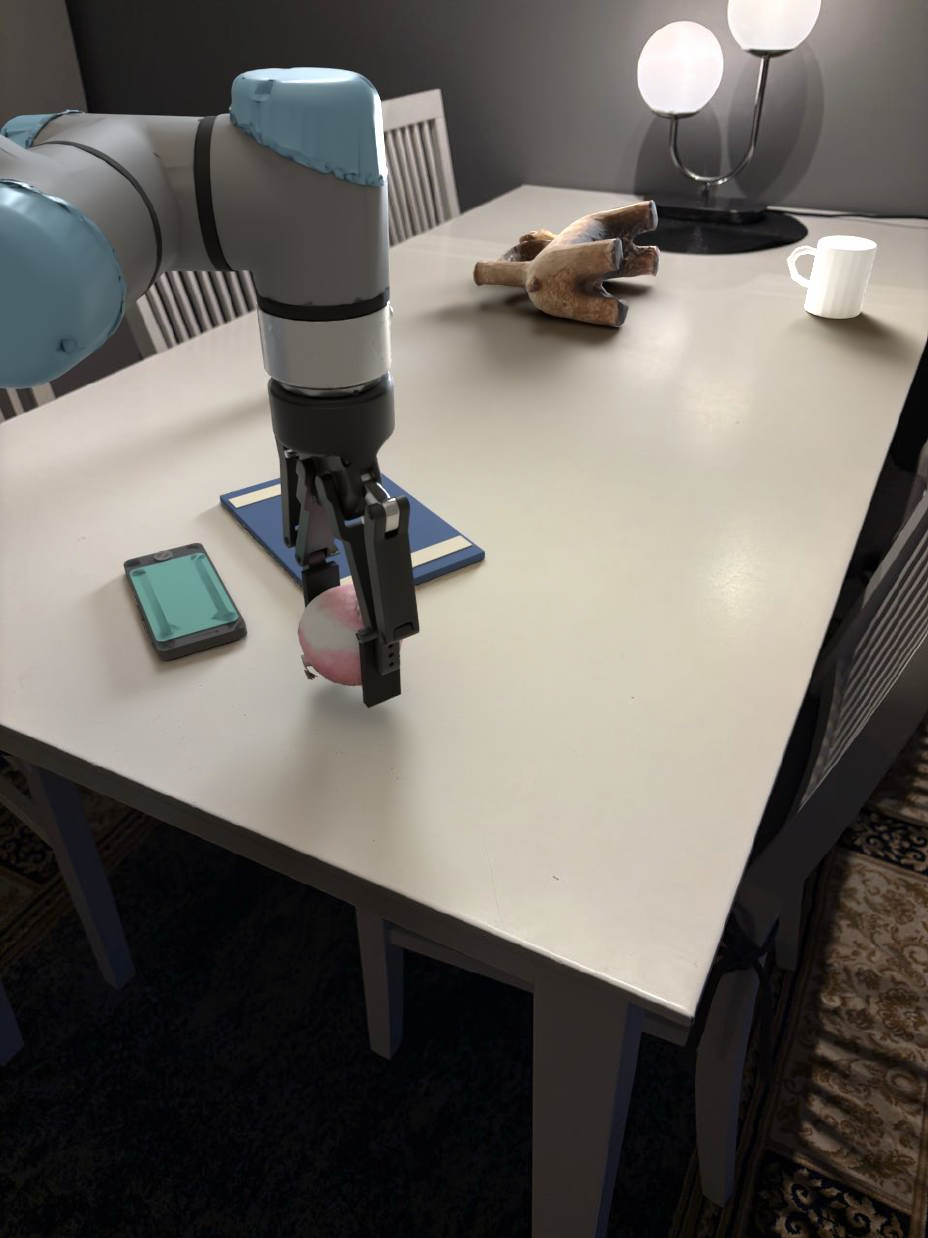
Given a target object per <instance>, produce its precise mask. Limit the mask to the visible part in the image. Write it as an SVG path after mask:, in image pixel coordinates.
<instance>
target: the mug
mask: <svg viewBox="0 0 928 1238" xmlns="http://www.w3.org/2000/svg"><path fill="white" fill-rule="evenodd" d="M877 251H878V244H877V243H875V242H874V241H873V240H870V239H867V238H863V237H859V236H853V235H852V236H850V235H830V236H825V237H823V238H821V239H819V240H818V243H817V248H813V247H811V246H808V245H805V246H801V247H797V248H795V250H793V252H792V253H791V254H790V256H788V258H787V259H786V263H787V266H788V270H789V273H790V274H789V275H790V277H791V279H792V280H793V281H794V282H796V283H797V284H799V285H800V286H801V287H805V288H808V289H807V294H806V298H805V302H804V309H805V311H807V312H808V313H810V314H812V315H814V316H816V317H817V316H818V317H820V318H826V319H835V320H844V319H853V318H856V317H858V316H859V315H860V314H861V313H862V308H863V305H864V301H865V297H866V293H867V289H868V286H869V282H870V277H871V274H872V270H873V266H874V262H875V259H876V258H875V257H876V254H877ZM807 254H808V255H809V254H810V255H812V256H815V257H814V261H813V267H812V270H811V274H810V280H809V279H806V278H805V277H803V276H801V275H800V274H798V270H797V267H796V263H795V262H796V261H797V259H798V258H799V257H800V256H802V255H807Z"/></svg>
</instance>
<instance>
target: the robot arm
mask: <svg viewBox="0 0 928 1238" xmlns="http://www.w3.org/2000/svg"><path fill="white" fill-rule="evenodd" d="M228 112H229V113H221V114H218V115H205V116H183V115H181V116H179V115H151V114H150V115H147V114H146V115H145V114H117V113H116V114H114V113H111V114H109V113H86V112H85V111H84V110H81V109H74V110H73V109H66V110H63V111H61V112H59V113H47V114H46V113H45V114H25V115H19V116H16V117H14V118H12V119H10V120H8V121H7V122H5V124H4V125H3V126H2V128H1V129H0V389H7V390H9V389H12V390H16V389H17V390H21V389H28V388H35V387H38V386H43V385H46V384H48V383H50V382H52V381H54V380H57V379H59V378H60V377H61V376H63V375H65V374H67V372H69V371H70V370H72V369H73V368H75V367H76V366H77V365H78V364H79V363H81V362H82V361H83V360H85V359H86V358H88V357H89V356H90V355H93V353H95V352H97V351H99V350H100V349H101V348H102V346H103V345H104V344H105V342H107V340H108V339H109V337H112V336H113V335H114V334H115V333H116V331H117V330H118V328H119V327H120V324H121V322H122V319H123V318H124V317H125V315H126V314H127V313H128V312H129V310H130V309H131V308H132V307H133V306H134V305H135V303H136V302H137V301H138V300H139V299H141V298H142V297H144V295H146V293H147V292H148V291H149V290H150V289H151V288H152V287H153V286H154V284H156V282H157V281H159V279H160V278H161V277H162V276H163V274H164V273H168V272H222V273H223V272H224V273H225V272H226V273H227V272H228V273H229V272H231V273H234V272H235V273H236V272H237V271H247V272H251V273H252V278H253V282H254V285H255V294H256V304H255V305H256V313H257V314H256V315H257V323H258V330H259V339H260V345H261V355H262V362H263V369H264V370H265V371H264V372H266V373H267V375H268V376H269V377H270V378H269V379H268V381H267V384H266V385H267V395H268V402H269V403H268V404H269V411H270V419H271V426H272V432H273V435H274V440H275V445H276V450H277V454H278V459H279V460H278V461H279V478H280V484H281V505H282V527H283V541H284V544H285V545H286V547H287V548H288V549H290V548H293V547H294V548H295V560H296V562H297V564H298V565H299V566H300V567H302V568H303V571H301V575H302V584H303V588H302V592H303V600H304V601H303V602H304V608H305V609H306V607H307V606H308V604H309V603H310V602H311V601H312V600H313V599H314V598H315V597H317V596H319V595H320V594H321V593H323V592H325V591H327V590H329V589H331V588H334V587H338V586H341V585H340V574H339V564H338V563H337V562H335V561H334V560H333V561H330V562H327V563H326V559H327V558H330V557H333V556H336V555H339V554H340V553H341V552H337V551H338V550H339V549H338V548H337V546H336V544H334V541H335V538H336V539H338V540H341V541H342V543H343V547H344V550H345V554H346V558H347V562H348V566H349V570H350V573H351V577H352V581H353V585H354V589H355V593H356V596H357V600H358V604H359V608H360V612H361V616H362V619H363V623H364V627H365V628H362V629H359V630H358V633H356V637H357V639H358V641H359V652H360V665H361V679H362V685H361V691H362V692H361V693H362V702H363V704H364V705H365V706H366V707H367V708H368V709H371V708H373V707H375V706H377V705H380V704H382V703H385V702H386V701H389V700H391V699H393V698H396V697H399V696H400V695H402V683H401V682H402V679H401V649H400V640H402V641H403V640H404V639H408V638H410V637H412V636H414V635H417V634H420V631H421V630H420V629H421V628H420V627H421V626H420V619H419V612H418V603H417V595H416V594H417V593H416V585H414V576H413V568H412V559H411V551H410V542H409V534H408V527H409V517H410V503H409V501H408V499H407V497H406V496H405V495H404V494H401V495H398V496H395V497H390V496H389V494H388V493H387V492H386V491H385V490H384V489H383V488H382V484H383V481H382V475H381V473H382V472H381V468H380V464H379V459H378V453H379V452H380V450H381V448H382V446H383V445H384V444H385V443H386V442H387V441H388V440H389V439H390V437H392V435H393V433H394V431H395V428H396V409H395V407H396V406H395V381H394V377H393V375H392V374H391V373H390V372H389V370H390V369H391V367H392V364H393V351H392V327H391V326H392V325H391V320H392V318H393V316H394V309H393V307H392V306H391V305H390V304H391V303H390V300H391V287H390V284H391V281H390V276H391V275H390V243H389V242H390V237H389V235H390V234H389V233H390V231H389V229H390V228H389V188H388V186H389V183H388V177H389V176H388V175H389V174H388V171H389V170H388V168H387V165H386V153H385V151H386V150H385V139H384V128H383V114H382V104H381V99H380V96H379V93H378V90H377V89H376V87H375V85H373V83H372V82H371V81H370V80H369V79H368V78H367V77H365V76H364V75H362V74H361V73H358V72H355V71H351V70H345V69H341V68H340V69H339V68H328V67H310V66H309V67H291V68H279V67H278V68H277V67H276V68H275V67H274V68H273V67H272V68H261V69H260V68H259V69H253V70H249V71H245V72H243V73H240V74H239V75H237V76H236V77H235V79H234V80H233V82H232V86H231V104H230V106H229V108H228ZM360 517H361V521H359V522H356V523H353V524H350V525H347V526H346V525H345V522H344V521H351V520H354V519H357V518H360ZM298 525H299V526H298ZM295 526H298V529H296V530H295ZM305 609H304V610H305Z"/></svg>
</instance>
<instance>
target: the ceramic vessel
mask: <svg viewBox="0 0 928 1238" xmlns="http://www.w3.org/2000/svg"><path fill="white" fill-rule="evenodd" d="M657 212H658V211H657V206H656V203H655V201H654V200H652V199H651V200H647V201H642V202H638V203H635V204H634V203H633V204H629V205H625V206H622V207H618V208H617V207H616V208H613V209H612V208H611V209H608V210H603V211H599V212H594V213H590V214H587V215H585V216H582V217H580V218H579V219H578V218H577V220H575V221H574V222H572V223H571V224H570V225H568V226H567V227H565V228H564V229H563V230H562V231H561V232H560V233H559V234H555V233H552V232H551V231H549V230H548V229H545V228H543V229H538V230H537V231H535V230H533V231H529V232H528V233H526V234H524V235H521V236H520V237H519V240H518V244H515V245H514V246H511V247H510V248H508V249H507V250H505V251H504V252H503V253H502V254H501V256H500V257H499V258H498V259H497V260H478V261H476V263H475V264H474V266H473V269H472V279H473V282H474V284H476V287H481V286H499V287H500V286H501V287H507V288H523V289H525V290H526V291H527V294H528V298H529V300H530V301H531V303H532V304H533V305H534V307H535V308H536V309H538V310H540V311H542V312H543V313H545V314H547V315H549V316H551V317H552V316H553V317H556V318H565V319H570V320H576V321H579V322H583V323H586V324H593V325H600V326H612V327H618V328H619V327H622V326H623V324H625V322H626V319H627V317H628V312H629V308H630V307H629V304H628V301H626V300H625V299H624V298H623V299H621V298H618V297H616V296H614V295H613V294H611V293H609V292H607V290H606V289H605V288H604V286H602V285H603V282H604V281H608V280H612V279H613V280H614V279H621V278H635V277H641V276H651V277H656V276H657V274H658V272H659V268H660V261H661V251H660V249H659V247H658V246H657V245H654V246H653V245H647V246H646V245H645V246H641V245H640V246H639V245H636V244H635V243H634V242H633V241H634V238H637V236H639V235H641V234H644V233H648V232H651V231H656V229H657V226H658V221H659V217H658V213H657Z"/></svg>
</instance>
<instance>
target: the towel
mask: <svg viewBox="0 0 928 1238" xmlns="http://www.w3.org/2000/svg"><path fill="white" fill-rule="evenodd" d="M381 475H382V481H383V484H382V488H383V489H384V490H385V491H386V492H387V493H388V494H389V496H390V497H395V496H398V495H401V494H404V495H405V496H406V497H407V499H408V501H409V503H410V517H409V527H408V534H409V542H410V551H411V559H412V568H413V576H414V585H415V586H418V585H420V584H422V583H426V582H428V581H430V580H433V579H435V578H438V577H440V576H443V575H445V574H448V573H451V572H453V571H456V570H459V569H461V568H464V567H467V566H469V565H472V564H474V563H477V562H480V561H482V560H485V559H486V551H485V550H484V549H482V548H481V547H480V546H479V545H477V544H475V542H474V541H472V540H471V539H469V538H468V537H467V536H465V535H464V534H463V533H461V532H460V531H459V530H457V529H456V528H455V527H453V526H452V525H451V524H450V523H448V522H447V521H446V520H444V519H443V518H442V517H440V515H438V514H436V513H435V512H434V511H433V510H431V509H430V508H428V506H426V505H424V503H422V502H420V501H419V500H418V499H417V498H415V497H414V496H413V495H411V494H410V493H409V492H408V491H406V490H405V489H404V488H402V487H401V486H399V485H398V484H397V483H396V482H395V481H393V480H391V479H390V478H389V477H387V475H386V474H384V473H383V472H381ZM219 502H220V504H222V505H223V507H224V508H226V509H227V510H228V512H229V513H230V514H231V515H232V516H233V517H234V518H235V519H236V520H237V521H238V522H239V524H241V525H242V526H243V528H245V529H246V530H247V532H249V534H250V535H251V536H252V537H253V538H254V539H255V540H256V541H257V542H258V543H259V544H260V545H261V546H262V547H263V548H264V549H265V550H266V551H267V552H268V553H269V555H270V556H271V557H272V558H273V559H274V560H275V561H276V562H277V563H278V564H279V565H280V567H282V568H283V569H284V570H285V571H286V572H287V573H288V575H290V576H291V577H292V578H293V579H294V580H295V582H296V583H297V584H298V585H299V586H300V587H301V588H302V589H303V584H302V575H301V571H303V568H302V567H300V566H299V565H298V564H297V562H296V560H295V548H294V547H293V548H290V549H288V548H287V547H286V545H285V544H284V541H283V527H282V505H281V484H280V477H276V478H273V479H271V480H267V481H264V482H260V483H257V484H254V485H250V486H247V487H244V488H240V489H237V490H233V491H231V492H227V493H223V494H220V495H219ZM359 521H361V517H360V518H357V519H354V520H351V521H344V522H345V525H346V526H347V525H350V524H353V523H356V522H359ZM298 526H299V525H298ZM298 526H295V530H296V529H298ZM334 544H336V546H337V548H338V549H339V550H338V551H337V552H341V553H340V554H339V555H336V556H333V557H330V558H327V559H326V563H327V562H330V561H333V560H334V561H335V562H337V563H338V564H339V574H340V585H345V584H352V583H353V581H352V577H351V573H350V570H349V566H348V562H347V558H346V554H345V550H344V547H343V543H342V541H341V540H338V539H336V538H335V541H334Z"/></svg>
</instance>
